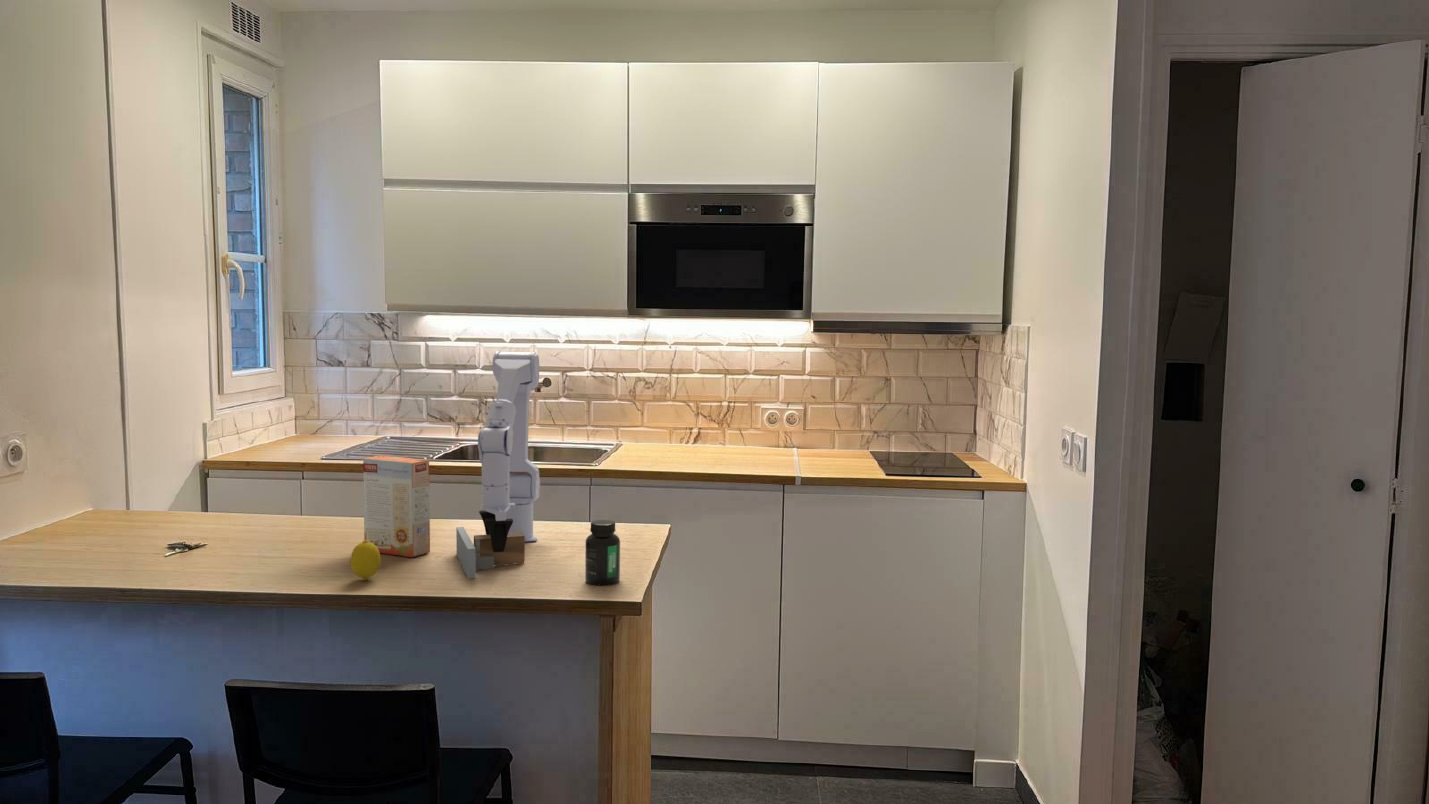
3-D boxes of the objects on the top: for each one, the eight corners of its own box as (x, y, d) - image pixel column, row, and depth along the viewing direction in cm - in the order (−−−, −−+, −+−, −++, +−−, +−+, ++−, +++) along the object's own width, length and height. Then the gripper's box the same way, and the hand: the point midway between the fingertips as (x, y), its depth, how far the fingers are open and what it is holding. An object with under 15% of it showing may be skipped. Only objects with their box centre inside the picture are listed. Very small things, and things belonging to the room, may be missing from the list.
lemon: (355, 576, 188) (354, 537, 187) (384, 576, 188) (383, 537, 187) (347, 584, 182) (346, 543, 181) (376, 584, 183) (375, 543, 182)
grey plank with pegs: (456, 554, 206) (456, 527, 205) (484, 552, 208) (484, 525, 208) (467, 578, 187) (467, 549, 187) (498, 576, 190) (498, 546, 189)
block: (473, 563, 199) (473, 535, 199) (521, 559, 203) (521, 532, 203) (476, 567, 196) (476, 539, 195) (524, 563, 200) (524, 535, 199)
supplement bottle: (620, 585, 185) (621, 525, 183) (585, 586, 183) (586, 526, 182) (618, 576, 191) (619, 518, 190) (584, 577, 190) (585, 518, 189)
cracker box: (431, 552, 207) (430, 459, 205) (412, 559, 201) (411, 462, 199) (383, 545, 213) (382, 453, 211) (363, 551, 207) (361, 457, 205)
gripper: (520, 489, 192) (520, 554, 194) (509, 477, 206) (509, 538, 207) (485, 491, 190) (486, 556, 191) (476, 479, 203) (476, 540, 205)
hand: (495, 547), depth 199 cm, fingers open, 7 cm apart
